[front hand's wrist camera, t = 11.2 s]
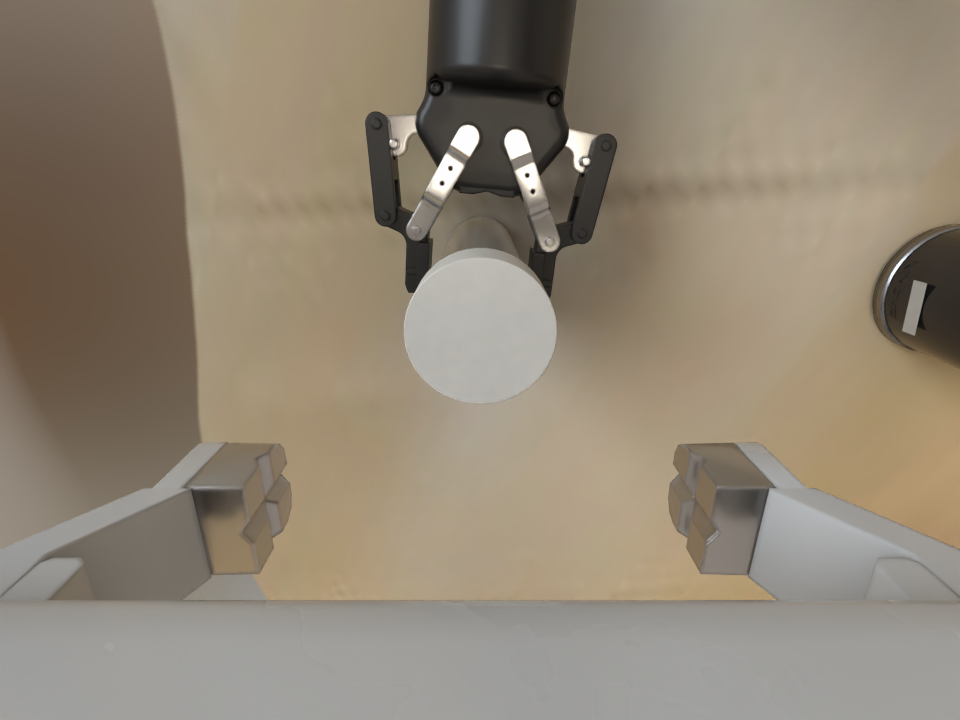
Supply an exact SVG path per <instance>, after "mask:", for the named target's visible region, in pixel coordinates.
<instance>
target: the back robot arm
mask: <svg viewBox="0 0 960 720" xmlns="http://www.w3.org/2000/svg"><path fill="white" fill-rule="evenodd" d="M576 1H577V0H430V9H429V33H428V57H427V81H426V93H425V97H424V100H423V102H422V104H421V106H420V108H419V109H418V111H417V114H416V115H392V116H386V115H384V114H382V113H380V112H372V113H370V114H369V115H368V116H367V118H366V121H365V125H366V135H367V145H368V154H369V164H370V174H371V183H372V193H373V203H374V212H375V219H376V221H377V222H378V223H379V224H380V225H381V226H385V227H389V228H391V229H394V230H396V231H398V232H400V233H401V234H402V235H403V236H404V237H405V239H406V243H407V248H406V278H405V285H406V287H407V290H408V292H409V293H415V291H416V289H417V287H418V285H419V284H420V282H421V280H422V278H423V277H424V276H425V274H426V273H427V272H428V271H429V270H430V269H431V266H432V246H433V239H432V238H429V237H430V229H431V227H432V226H433V224H434V222H435V220H436V219H437V217H438V215H439V213H440V212H441V210H442V208H443V206H444V205H445V203H446V201H447V200H448V198H449V196H450V194H451V193H452V191H453V189H455V190H457V191H459V193H467V194H475V193H481V192H486V191H487V192H490V193H493V194H496V195H498V196H501V197H512V198H514V196H518V195H519V196H520V199H521V202H522V204H523V207H524V210H525V212H526V214H527V217H528V220H529V223H530V225H531V228H532V231H533V234H534V236H535V243H534V248H532V247H530V255H529V263H528V267H529V268H530V269H531V270H532V271H533V272H534V273H535V274H536V276H537V277H538V278H539V280H540V282H541V283H542V285H543V287H544V289H545V291H546V293H547V295H548V297H549V298H550V296H551V289H552V282H553V274H554V267H555V260H556V255H557V253H558V252H559V251H560V250H561V249H562V248H564V247H566V246H570V245H574V244H585V243H587V242H588V241H589V240H590V239H591V237H592V234H593V231H594V227H595V224H596V220H597V216H598V213H599V209H600V206H601V202H602V198H603V195H604V191H605V188H606V184H607V180H608V177H609V173H610V170H611V166H612V162H613V159H614V155H615V152H616V148H617V142H616V139H615V137H614V136H612V135H610V134H600V135H594V134H590V133H585V132H581V131H576V130H572V129H569V126H568V123H567V120H566V118H565V113H564V95H565V87H566V79H567V71H568V64H569V56H570V48H571V40H572V32H573V24H574V16H575V9H576ZM415 134H418V135H419V137H420V138H421V140H422V142H423V144H424V145H425V147H426V149H427V150H428V152H429V154H430V155H431V157H432V159H433V160H434V162H435V164H436V166H437V167H438V169H437V170H436V172H435V174H434V176H433V178H432V179H431V181H430V183H429V185H428V187H427V188H426V190H425V192H424V194H423V196H422V199H421V201H420V202H419V204H418V206H417V208H416V210H415V211H414V212H411V211H409V210H407V209H405V208H403V207H402V206H401V194H400V182H399V171H398V159H397V156H402V155H404V154H405V153H406V152H407V150H408V143H409V140H410V138H411V137H412V136H413V135H415ZM564 147H565V148H567V149H568V150H569V152H570V154H571V166H572V168H573V170H574V171H576V172H578V173H579V176H578V180H577V184H576V188H575V192H574V196H573V200H572V204H571V207H570V211H569V215H568V219H567V222H564V223H560V224H556V225H555V223H554V220H553V217H552V214H551V211H550V206H549V203H548V200H547V197H546V194H545V191H544V188H543V185H542V182H541V179H540V175H541V174H542V173H543V172H544V171H545V169H546V168H547V167H548V166H549V165H550V164H551V162H552V161H553V160H554V159H555V158H556V156H557V155H558V154H559V153H560V152H561V151H562V149H563V148H564ZM873 314H874V318H875V321H876V323H877V325H878V327H879V329H880V330H881V332H882V333H883V334H884V335H885V336H886V337H887V338H888V339H890V340H891V341H893V342H895V343H897V344H899V345H901V346H903V347H906V348H908V349H911V350H914V351H919V352H921V353H924V354H926V355H928V356H931V357H933V358H936V359H938V360H940V361H942V362H945V363H947V364H949V365H952V366H954V367H957V368H959V369H960V224H956V225H947V226H942V227H938V228H935V229H932V230H929V231H927V232H925V233H923V234H921V235H919V236H917V237H916V238H914V239H913V240H911V241H910V242H908V243H907V244H906V245H905V246H903V247H902V248H901V249H900V250H899V251H898V252H897V253H896V254H895V255H894V256H893V257H892V258H891V260H890V261H889V262H888V264H887V265H886V266H885V268H884V270H883V271H882V273H881V275H880V277H879V279H878V282H877V284H876V287H875V291H874V296H873Z"/></svg>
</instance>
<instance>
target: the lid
mask: <svg viewBox="0 0 960 720" xmlns="http://www.w3.org/2000/svg"><path fill="white" fill-rule="evenodd" d="M404 341H405V346H406V350H407V353H408V356H409V359H410V361H411V363H412V365H413V367H414V368H415V369H416V371H417V372H418V374H419V375H420V376H421V377H422V379H423V380H424V381H425V382H426V383H427V384H429V385H430V386H431V387H432V388H433V389H435V390H436V391H438V392H439V393H441V394H443V395H445V396H447V397H449V398H452V399H454V400H457V401H461V402H465V403H472V404H489V403H496V402H500V401H504V400H507V399H509V398H512V397H514V396H516V395H518V394H520V393H522V392H523V391H525V390H526V389H528V388H529V387H530V386H531V385H532V384H534V383H535V382H536V381H537V380H538V379H539V377H540V376H541V375H542V374H543V373H544V371H545V370H546V368H547V367H548V365H549V363H550V361H551V359H552V356H553V353H554V350H555V346H556V341H557V320H556V315H555V311H554V308H553V305H552V303H551V300H550V299H549V297H548V295H547V293H546V291H545V289H544V287H543V285H542V283H541V282H540V280H539V278H538V277H537V276H536V274H535V273H534V272H533V271H532V270H531V269H530V268H529V267H528V266H527V265H526V264H525V263H524V262H522V261H521V260H520V259H518V258H516V257H514V256H513V255H510V254H508V253H506V252H503V251H499V250H496V249H489V248H472V249H465V250H462V251H458V252H455V253H453V254H451V255H448V256H447V257H445V258H443V259H442V260H440V261H439V262H437V263H436V264H435V265H434V266H433V267H432V268H431V269H430V270H429V271H428V272H427V273H426V274H425V276H424V277H423V278H422V280H421V282H420V284H419V285H418V287H417V289H416V291H415V293H414V295H413V297H412V299H411V301H410V303H409V305H408V308H407V311H406V315H405V320H404Z"/></svg>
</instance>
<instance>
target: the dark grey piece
mask: <svg viewBox="0 0 960 720" xmlns="http://www.w3.org/2000/svg"><path fill="white" fill-rule="evenodd" d="M472 248H489V249H496V250H499V251H503V252H506V253H508V254H510V255H513V256H514V257H516V258H518V259H520V258H519V255H518V253H517V251H516V248H515V246H514V244H513V241H512V239H511V237H510V235H509V233H508V231H507V230H506V228H505V227H504V226H503V225H502V224H500V223H499V222H498V221H496V220H494V219H492V218H488V217H473V218H469V219H467V220H465V221H463V222H462V223H461V224H459V225H458V226H457V227H456V228H455V230H454V231H453V233H452V235H451V237H450V239H449V241H448V244H447V246H446V248H445V251H444V253H443V255H442V258H441V260H442V259H443V258H445V257H447V256H448V255H451V254H453V253H455V252H458V251H462V250H465V249H472Z"/></svg>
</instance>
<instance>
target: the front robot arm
mask: <svg viewBox="0 0 960 720" xmlns="http://www.w3.org/2000/svg"><path fill="white" fill-rule="evenodd" d="M286 465H287V461H286V456H285V451H284V448H283V447H282V446H281V445H280V444H267V443H227V442H218V443H201V444H198V445H197V446H196V447H195V448H194V449H193V450H192V451H191V452H190V453H189V454H188V455H187V456H186V457H185V458H184V459H182V460H181V461H180V462H179V463H178V464H177V465H176V466H175V467H174V468H173V469H172V470H171V471H170V472H169V473H168V474H167V475H166V476H165V477H164V478H163V479H162V480H161V481H160V482H159V483H158V484H157V485H155V486H154V487H153V488H144V489H141V490H139V491H137V492H134V493H132V494H130V495H127V496H125V497H122V498H120V499H118V500H115V501H113V502H111V503H108V504H106V505H104V506H101V507H99V508H97V509H94V510H92V511H89V512H87V513H85V514H82V515H80V516H78V517H75V518H73V519H70V520H68V521H66V522H63V523H61V524H59V525H56V526H54V527H52V528H49V529H47V530H44V531H42V532H40V533H37V534H35V535H33V536H30V537H28V538H26V539H23V540H21V541H19V542H16V543H14V544H12V545H9V546H7V547H5V548H2V549H0V720H960V549H958V548H955V547H953V546H951V545H948V544H946V543H943V542H941V541H939V540H936V539H934V538H932V537H929V536H927V535H925V534H922V533H920V532H918V531H915V530H913V529H911V528H908V527H906V526H903V525H901V524H899V523H896V522H894V521H892V520H889V519H887V518H885V517H882V516H880V515H878V514H875V513H873V512H871V511H868V510H866V509H863V508H861V507H859V506H856V505H854V504H852V503H849V502H847V501H845V500H842V499H840V498H838V497H835V496H833V495H830V494H828V493H826V492H823V491H821V490H819V489H816V488H807V487H806V486H805V485H804V484H802V483H801V482H800V481H799V480H798V479H797V478H796V477H795V476H794V475H793V474H792V473H791V472H790V471H789V470H788V469H787V468H786V467H785V466H784V465H783V464H782V463H781V462H780V461H779V460H778V459H777V458H776V457H775V456H774V455H773V454H771V453H770V452H769V451H768V450H767V449H766V448H765V447H764V446H763V445H762V444H759V443H756V442H747V443H706V444H681V445H678V447H677V449H676V451H675V455H674V461H673V465H674V466H675V468H676V469H677V471H678V472H679V474H678V475H677V476H676V478H675V479H674V480H673V481H672V482H671V483H670V487H669V496H668V501H669V512H670V515H671V519H672V522H673V524H674V526H675V528H676V530H677V531H678V532H679V533H681V534H682V535H684V536H685V537H687V538H688V540H687V546H686V548H687V550H688V552H689V554H690V556H691V557H692V559H693V561H694V563H695V565H696V566H697V568H698V570H699V572H700V574H723V575H749V578H750V579H751V580H753V581H754V582H755V583H756V584H758V585H759V586H760V587H762V588H763V589H764V590H765V591H767V592H768V593H769V594H771V595H772V596H773V597H775V598H776V599H777V600H183V599H184V598H186V597H187V596H188V595H190V594H191V593H192V592H193V591H195V590H196V589H197V588H199V587H200V586H201V585H203V584H204V583H205V582H206V581H208V580H209V579H210V578H211V575H236V574H260V572H261V570H262V568H263V566H264V565H265V563H266V561H267V559H268V557H269V556H270V554H271V552H272V550H273V548H274V546H273V540H272V538H273V537H275V536H276V535H278V534H279V533H281V532H282V531H283V530H284V528H285V526H286V524H287V522H288V519H289V515H290V510H291V499H292V494H291V487H290V483H289V482H288V481H287V480H286V479H285V478H284V476H283V475H282V474H281V472H282V471H283V469H284V468H285V466H286Z"/></svg>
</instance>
